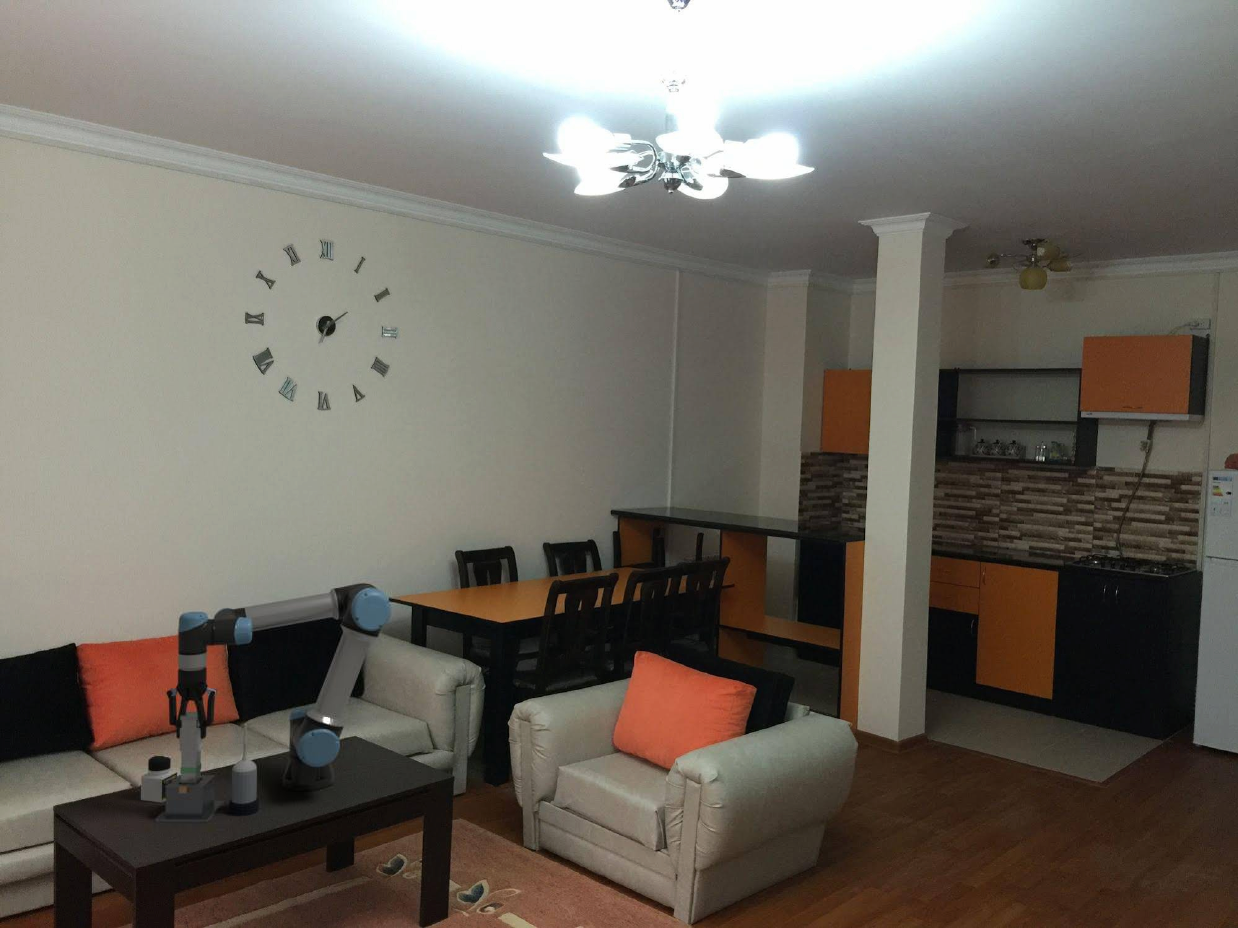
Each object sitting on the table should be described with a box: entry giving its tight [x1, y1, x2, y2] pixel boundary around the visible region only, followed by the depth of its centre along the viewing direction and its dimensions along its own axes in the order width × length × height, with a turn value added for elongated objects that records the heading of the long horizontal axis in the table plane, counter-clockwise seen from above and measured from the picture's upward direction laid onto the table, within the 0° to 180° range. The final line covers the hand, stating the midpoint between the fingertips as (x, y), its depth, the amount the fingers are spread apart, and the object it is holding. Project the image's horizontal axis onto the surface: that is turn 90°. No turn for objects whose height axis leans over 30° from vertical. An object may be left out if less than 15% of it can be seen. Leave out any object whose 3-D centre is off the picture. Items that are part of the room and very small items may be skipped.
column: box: [179, 710, 202, 785], centre depth 290 cm, size 5×5×21 cm
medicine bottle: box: [140, 754, 178, 803], centre depth 302 cm, size 7×7×12 cm
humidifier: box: [228, 723, 260, 817], centre depth 293 cm, size 8×8×25 cm
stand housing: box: [154, 774, 225, 823], centre depth 291 cm, size 14×14×9 cm
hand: (191, 749), depth 290 cm, fingers closed on column, 4 cm apart
